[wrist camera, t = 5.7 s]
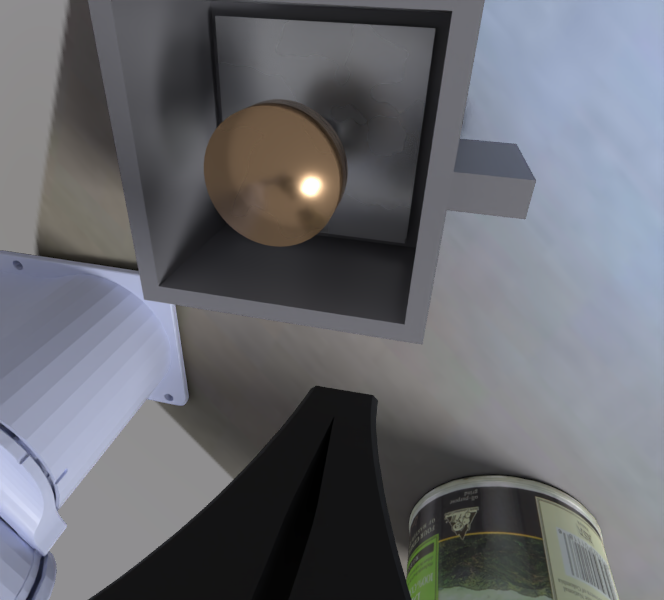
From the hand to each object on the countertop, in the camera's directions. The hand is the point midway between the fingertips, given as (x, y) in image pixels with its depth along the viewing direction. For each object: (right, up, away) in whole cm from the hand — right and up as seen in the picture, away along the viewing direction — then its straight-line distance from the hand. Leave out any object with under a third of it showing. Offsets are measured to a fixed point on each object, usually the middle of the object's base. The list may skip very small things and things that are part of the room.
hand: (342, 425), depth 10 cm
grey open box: (0, +9, +7) cm, 11 cm away
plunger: (-1, +9, +7) cm, 11 cm away
